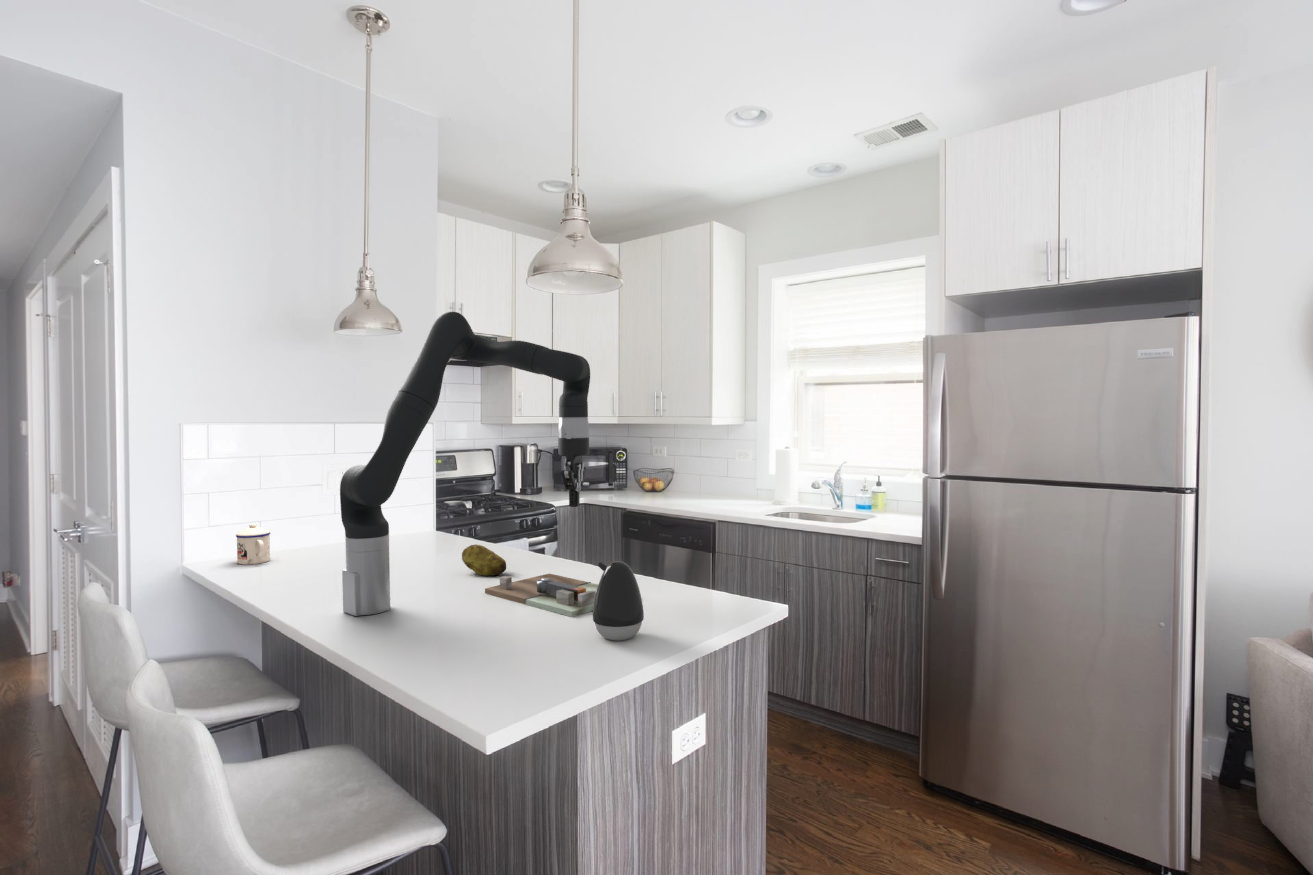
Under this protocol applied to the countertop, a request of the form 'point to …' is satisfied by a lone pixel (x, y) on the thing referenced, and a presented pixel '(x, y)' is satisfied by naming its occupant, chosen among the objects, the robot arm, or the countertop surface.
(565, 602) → the board
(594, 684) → the countertop surface
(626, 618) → the pump dispenser
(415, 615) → the countertop surface
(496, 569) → the potato
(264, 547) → the teacup with lid
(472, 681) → the countertop surface
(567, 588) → the arm
